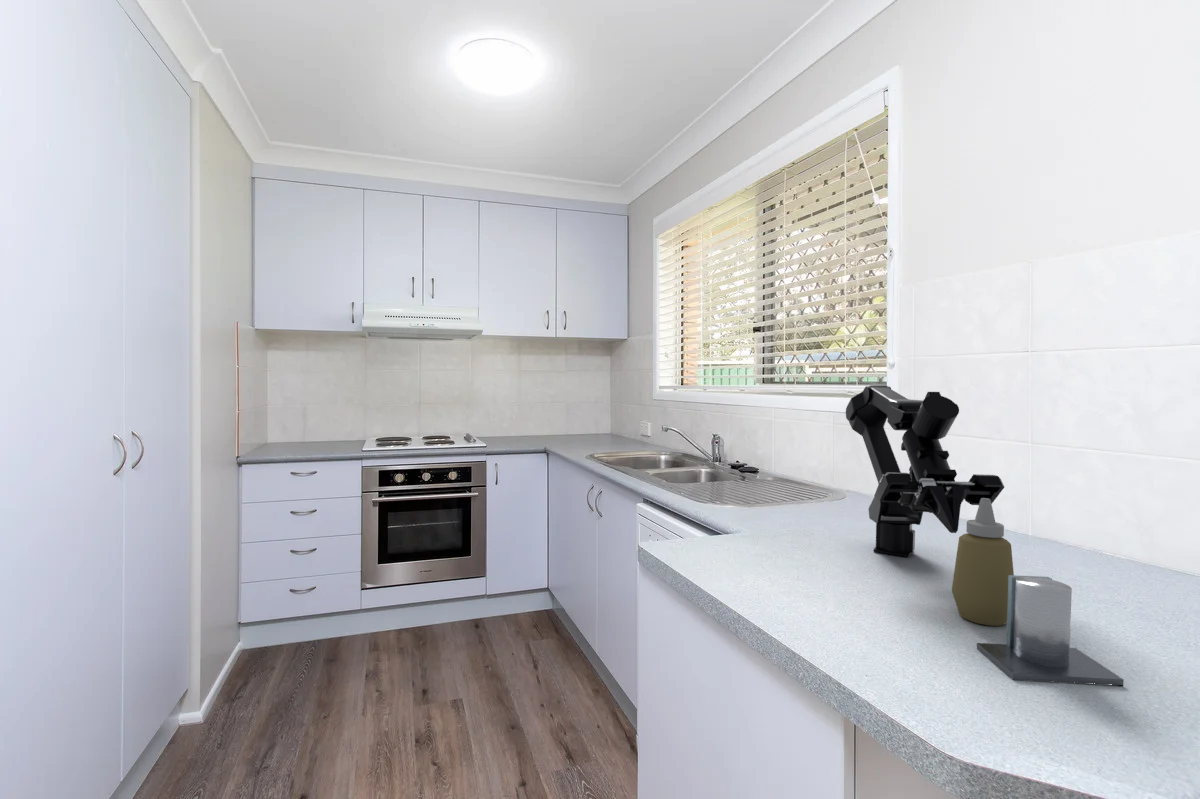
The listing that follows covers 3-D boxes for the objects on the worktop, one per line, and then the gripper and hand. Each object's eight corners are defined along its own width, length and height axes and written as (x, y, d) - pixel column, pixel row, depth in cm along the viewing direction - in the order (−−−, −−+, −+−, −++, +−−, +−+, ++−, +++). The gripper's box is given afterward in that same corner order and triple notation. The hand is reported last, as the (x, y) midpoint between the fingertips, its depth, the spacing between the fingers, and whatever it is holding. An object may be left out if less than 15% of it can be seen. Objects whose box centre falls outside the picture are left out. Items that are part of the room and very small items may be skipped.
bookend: (977, 648, 77) (979, 573, 77) (1075, 654, 76) (1078, 578, 75) (1012, 679, 69) (1015, 596, 69) (1123, 686, 68) (1126, 601, 67)
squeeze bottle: (1005, 612, 89) (1008, 495, 89) (1024, 634, 82) (1028, 506, 81) (945, 605, 92) (948, 491, 91) (958, 625, 84) (961, 502, 84)
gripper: (963, 482, 111) (994, 557, 100) (861, 480, 113) (880, 553, 102) (987, 446, 103) (1024, 523, 92) (877, 444, 105) (900, 519, 94)
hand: (954, 531), depth 96 cm, fingers closed
